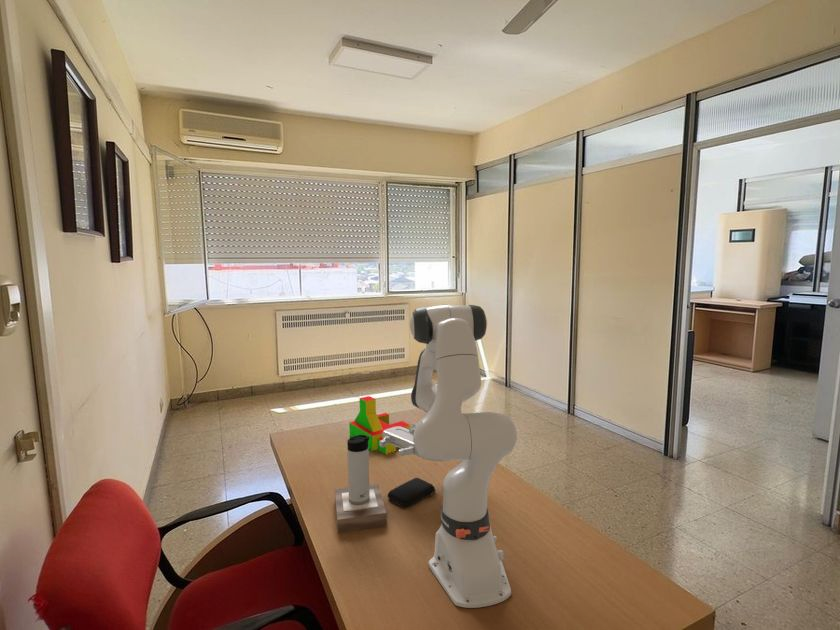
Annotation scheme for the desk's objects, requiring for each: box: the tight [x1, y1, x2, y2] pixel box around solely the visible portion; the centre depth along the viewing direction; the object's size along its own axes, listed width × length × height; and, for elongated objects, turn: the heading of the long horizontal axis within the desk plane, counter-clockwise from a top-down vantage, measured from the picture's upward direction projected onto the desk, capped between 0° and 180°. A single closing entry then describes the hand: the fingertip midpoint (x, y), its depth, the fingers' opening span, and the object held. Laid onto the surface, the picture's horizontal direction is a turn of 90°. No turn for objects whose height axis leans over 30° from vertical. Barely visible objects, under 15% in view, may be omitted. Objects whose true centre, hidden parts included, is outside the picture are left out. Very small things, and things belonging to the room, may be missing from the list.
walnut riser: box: [334, 483, 388, 534], centre depth 134 cm, size 17×14×4 cm
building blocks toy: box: [348, 395, 412, 455], centre depth 186 cm, size 19×25×18 cm
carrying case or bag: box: [387, 477, 436, 509], centre depth 143 cm, size 11×3×15 cm
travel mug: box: [346, 435, 370, 505], centre depth 132 cm, size 6×7×20 cm
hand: (389, 448), depth 140 cm, fingers open, 8 cm apart
